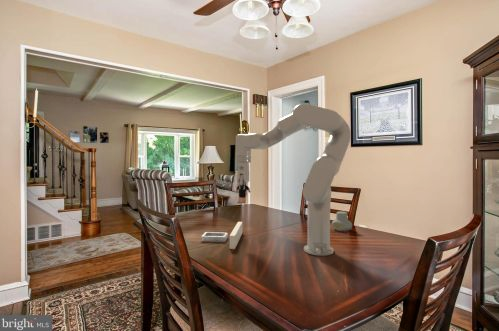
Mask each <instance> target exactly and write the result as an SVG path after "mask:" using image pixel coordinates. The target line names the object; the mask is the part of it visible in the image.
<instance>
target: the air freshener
mask: <svg viewBox="0 0 499 331" xmlns="http://www.w3.org/2000/svg"><path fill="white" fill-rule="evenodd" d="M331 226H332V228H333V229H334V230H336V231H338V232H348V231H350V230H352V228H353V223H352V222H351V220H348V212H346V211H337V212H336V219H334V220H332V222H331Z"/></svg>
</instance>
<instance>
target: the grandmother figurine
mask: <svg viewBox="0 0 499 331" xmlns="http://www.w3.org/2000/svg"><path fill="white" fill-rule="evenodd" d="M243 183H244V182H243ZM245 183H246V182H245ZM245 189H246V190H247V192H248V193H251V190H250V187H249V186H248V185H247V183H246V185H245ZM235 193H239V185H238V186H237V187H236V189H235ZM236 203H237V204H244V205H245V204H247V196H246V197H245V198H241V197H239V196H238V201H236Z"/></svg>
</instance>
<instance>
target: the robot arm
mask: <svg viewBox="0 0 499 331" xmlns="http://www.w3.org/2000/svg"><path fill="white" fill-rule="evenodd" d="M307 127H310V128H313V129H317V130H320V131H324V132H327V133H328V134H329V138H328V140H327V143H326V145H325V147H324V150H323V152H322V155H320V156H319V157H317V158H316V159H315V160H314V162H313V163H312V165H311V168H310V170H309V172H308V175H307V178H306V180H305V183H304V185H303V189H302V195H303V198H304V199H305V201H307V244H306V245H304V246H303V251H304V252H306V254H308V255H312V256H317V257H318V256H319V257H326V256H331V255H332V254H334V251H335V250H334V248H333V247H332V246H331V202H332V187H331V186H332V183H333V181H334V179H335V176H337V174H338V173H339V171H340V167H341V166H342V162H343V161H344V158H345V156H346V153H347V150H348V147H349V145H350V141H351V137H352V136H351V133H352V132H351V128H350V126H349V124H348V122H347V121H346V120H345V119H344V117H342V115H340V114H339V113H338V112H337V111H336V110H332V109H329V108H326V107H325V108H324V107H322V106H321V107H320V106H317V105H312V104H309V103H306V102H305V103H300V104H297V105H296V106H295V107H294V108H293V110H292V113H290V114H288V115H285V116H284V117H282V118H280V119H278V121H277V124H276V126H275V127H273V128H272V129H269V130H268V131H266V132H265V133H257V132H254V133H248V134H247V133H240V134H239V133H238V134H237V135H235V163H237V165H236V166H237V169H236V172H237V176H236V178H237V179H236V180H237V183H239V184H238V186H239V190H238V198H239V197H241V198H245V197H246V198H247V196H248V195H247V192H248V190H246V189H245V185H246V186H247V183H249V182H250V163H252V150H266V149H268V148H271V147H272V146H275V145H277V144H278V143H279V144H280V143H281V142H282V141H284V140H285V139H287V138H288V137H290V136H292V135H293V134H295V133H297V132H299V131H302V130H303V129H306V128H307ZM243 182H244V183H243ZM245 182H246V183H245Z"/></svg>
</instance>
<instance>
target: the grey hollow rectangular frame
mask: <svg viewBox="0 0 499 331" xmlns="http://www.w3.org/2000/svg"><path fill="white" fill-rule="evenodd" d="M228 236H229V233H228V232H219V231H217V232H215V231H213V232H212V231H211V232H210V231H205V232H204V233H203V234H202V235H201V239H200V240H201V242H203V243H205V242H207V243H213V242H214V243H226V242H227V240H228V238H229V237H228Z"/></svg>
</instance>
